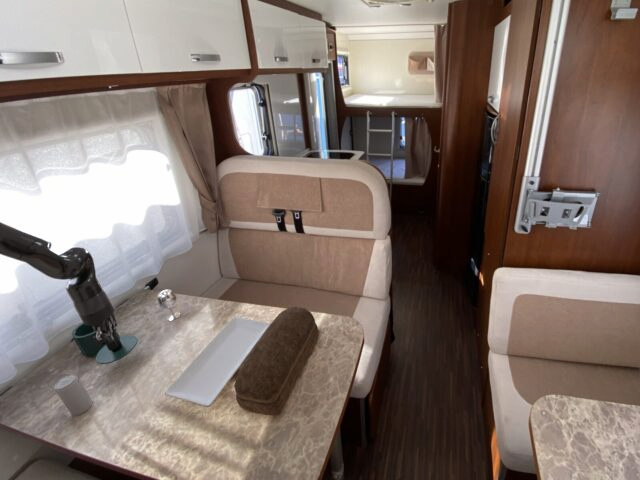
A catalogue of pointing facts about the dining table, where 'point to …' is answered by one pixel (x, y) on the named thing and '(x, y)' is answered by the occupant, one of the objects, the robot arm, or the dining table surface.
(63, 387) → the beverage can
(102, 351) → the lid
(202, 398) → the tray
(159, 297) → the wineglass
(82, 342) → the pot
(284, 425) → the dining table surface
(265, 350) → the bread
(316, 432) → the dining table surface
